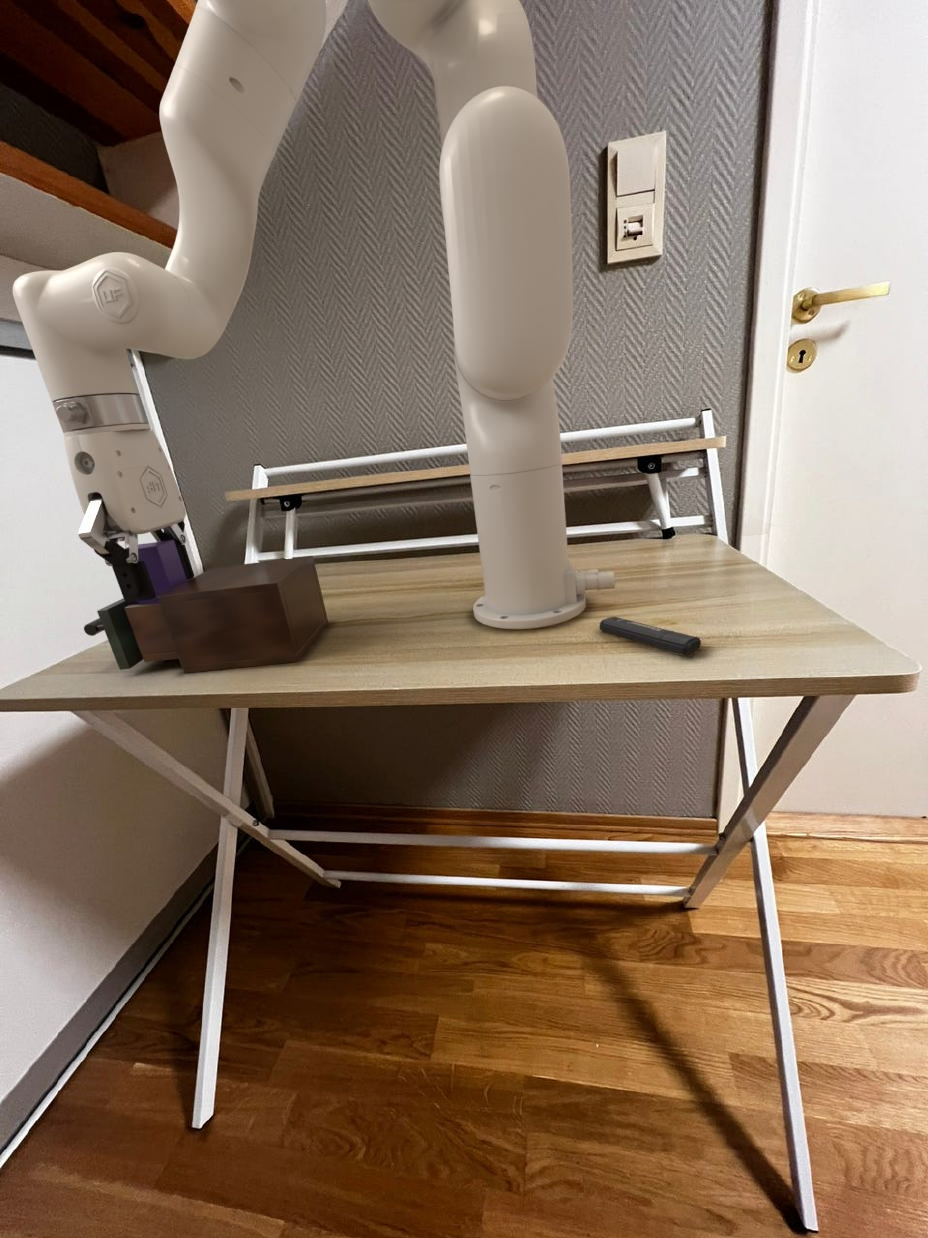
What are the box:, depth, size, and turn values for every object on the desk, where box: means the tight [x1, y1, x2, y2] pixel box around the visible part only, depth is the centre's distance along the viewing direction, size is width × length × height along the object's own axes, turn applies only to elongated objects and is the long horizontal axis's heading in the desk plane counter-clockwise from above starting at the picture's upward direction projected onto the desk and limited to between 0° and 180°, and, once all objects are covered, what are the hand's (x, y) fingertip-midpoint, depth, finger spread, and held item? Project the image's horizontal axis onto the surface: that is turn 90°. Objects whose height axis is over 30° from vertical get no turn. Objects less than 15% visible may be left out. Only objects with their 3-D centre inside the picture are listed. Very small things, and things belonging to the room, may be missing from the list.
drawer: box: [83, 597, 179, 671], centre depth 61 cm, size 15×10×7 cm, turn 87°
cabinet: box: [158, 555, 330, 674], centre depth 60 cm, size 13×11×9 cm
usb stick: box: [599, 616, 702, 657], centre depth 48 cm, size 10×3×2 cm, turn 36°
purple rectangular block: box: [138, 540, 188, 604], centre depth 60 cm, size 4×3×11 cm
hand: (161, 587), depth 59 cm, fingers open, 6 cm apart
